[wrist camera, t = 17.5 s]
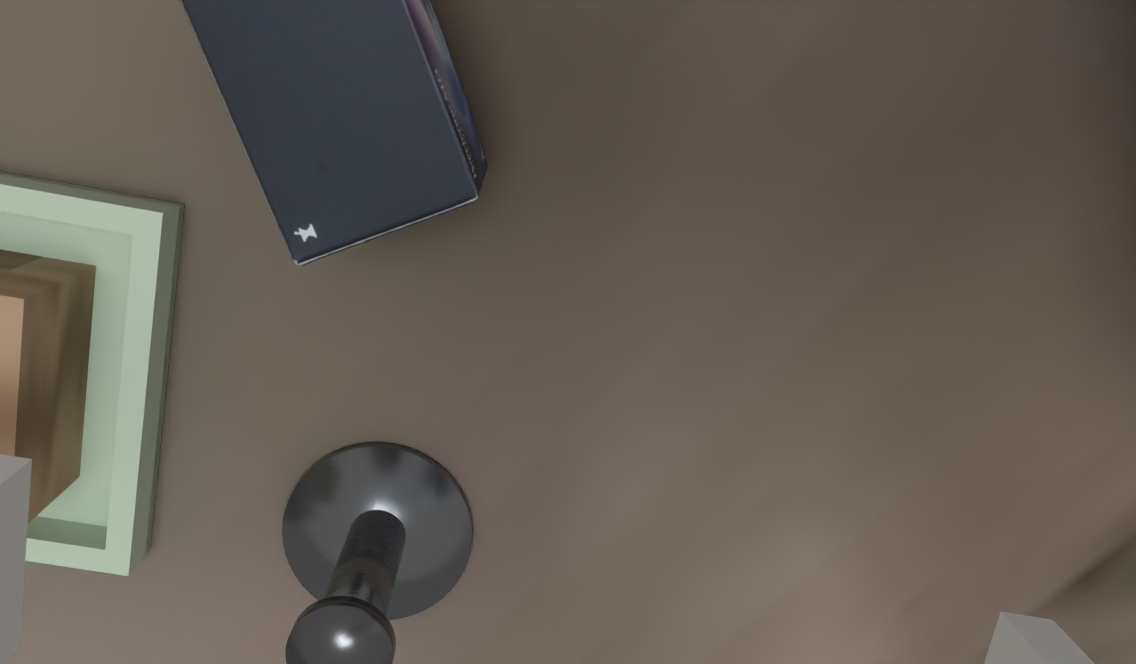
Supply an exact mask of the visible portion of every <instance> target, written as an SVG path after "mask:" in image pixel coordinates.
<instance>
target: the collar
mask: <svg viewBox="0 0 1136 664" xmlns="http://www.w3.org/2000/svg"><path fill="white" fill-rule="evenodd" d="M95 275H96V266H94V265H89V264H83V263H77V262H71V261H65V260H60V259H54V258H48V257H42V256H36V255H31V254H25V253H19V252H13V251H7V250H2V249H0V454H3V455H9V456H16V457H22V458H28V459H32V468H31V483H30V498H29V513H28V523H29V522H31V521H32V520H33V519H34V518H35V517H36V516H37V515H38V514H39V513H40V512H41V511H43V510H44V509H45V508H46V507H47V506H48V505H49V504H50V503H51V502H52V501H53V500H55V499H56V498H57V497H58V496H59V495H60V494H61V493H62V492H63V491H64V490H65V489H67V488H68V487H69V486H70V485H71V484H72V483H73V482H74V481H75V480H76V479H78V478H79V477H80V466H81V453H82V440H83V428H84V415H85V402H86V389H87V377H88V364H89V351H90V339H91V326H92V313H93V301H94V288H95Z"/></svg>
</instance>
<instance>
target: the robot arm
mask: <svg viewBox="0 0 1136 664" xmlns="http://www.w3.org/2000/svg"><path fill="white" fill-rule="evenodd" d="M31 468H32V459H28V458H22V457H16V456H9V455H3V454H0V664H6V663H7V662H8V660H9V659H10V658H11V657H12V656H13V655H14V654H15V652H16V651H17V650H18V649H19V645H20V630H21V616H22V601H23V586H24V571H25V557H26V542H27V527H28V513H29V498H30V483H31ZM984 664H1094V663H1093V662H1092V661H1091V660H1090V659H1089V658H1088V656H1087V655H1086V654H1085V653H1084V652H1083V651H1082V650H1081V649H1080V648H1079V647H1078V646H1077V645H1076V644H1075V643H1074V642H1073V641H1072V640H1071V639H1070V637H1069V636H1068V635H1067V634H1066V633H1065V632H1064V631H1063V630H1062V629H1061V628H1060V627H1059V626H1058V625H1057V624H1056V623H1055V622H1054V621H1053V620H1051V619H1044V618H1038V617H1032V616H1025V615H1019V614H1012V613H1006V612H1000V616H999V619H998V622H997V625H996V628H995V631H994V634H993V637H992V640H991V643H990V647H989V650H988V653H987V656H986V659H985V662H984Z"/></svg>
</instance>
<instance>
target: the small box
mask: <svg viewBox="0 0 1136 664" xmlns="http://www.w3.org/2000/svg"><path fill="white" fill-rule="evenodd" d="M179 1H180V3H181V6H182V8H183V10H184V12H185V14H186V17H187V19H188V21H189V23H190V25H191V28H192V31H193V33H194V36H195V38H196V40H197V42H198V45H199V47H200V49H201V52H202V54H203V56H204V59H205V61H206V63H207V65H208V68H209V70H210V73H211V75H212V78H213V80H214V82H215V85H216V87H217V89H218V92H219V94H220V96H221V98H222V101H223V103H224V105H225V108H226V110H227V112H228V115H229V117H230V119H231V121H232V123H233V126H234V128H235V131H236V133H237V135H238V137H239V139H240V141H241V143H242V146H243V148H244V151H245V153H246V156H247V158H248V161H249V163H250V165H251V168H252V170H253V172H254V174H255V176H256V179H257V181H258V184H259V186H260V189H261V191H262V193H263V196H264V198H265V200H266V202H267V204H268V207H269V209H270V211H271V214H272V216H273V218H274V220H275V224H276V225H277V227H278V229H279V232H280V234H281V236H282V239H283V241H284V243H285V246H286V248H287V250H288V253H289V255H290V257H291V260H292V261H293V263H295V264H297V265H299V266H304V265H306V264H308V263H311V262H313V261H315V260H318V259H320V258H324V257H326V256H328V255H331V254H334V253H337V252H339V251H342V250H345V249H347V248H350V247H353V246H356V245H358V244H361V243H364V242H367V241H370V240H372V239H375V238H377V237H380V236H382V235H385V234H387V233H391V232H393V231H396V230H399V229H402V228H404V227H408V226H411V225H413V224H416V223H419V222H422V221H424V220H427V219H429V218H432V217H434V216H437V215H441V214H444V213H446V212H448V211H451V210H453V209H456V208H460V207H463V206H465V205H467V204H470V203H473V202H475V201H476V200H477V199H478V197H479V191H480V188H481V185H482V181H483V178H484V175H485V173H486V171H487V163H486V159H485V155H484V152H483V149H482V145H481V142H480V138H479V135H478V132H477V128H476V126H475V123H474V120H473V118H472V115H471V112H470V109H469V106H468V103H467V100H466V97H465V94H464V92H463V89H462V86H461V84H460V81H459V78H458V75H457V73H456V70H455V67H454V64H453V61H452V59H451V56H450V53H449V50H448V47H447V44H446V42H445V39H444V36H443V33H442V31H441V28H440V25H439V23H438V20H437V18H436V15H435V12H434V10H433V7H432V4H431V2H430V0H179Z"/></svg>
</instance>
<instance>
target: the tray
mask: <svg viewBox="0 0 1136 664" xmlns="http://www.w3.org/2000/svg"><path fill="white" fill-rule="evenodd" d="M184 205H185V204H180V203H174V202H169V201H163V200H157V199H152V198H146V197H141V196H135V195H130V194H124V193H119V192H113V191H107V190H102V189H96V188H91V187H85V186H80V185H74V184H68V183H63V182H57V181H52V180H46V179H41V178H35V177H29V176H24V175H18V174H13V173H7V172H2V171H0V249H2V250H7V251H13V252H19V253H25V254H31V255H36V256H42V257H48V258H54V259H60V260H65V261H71V262H77V263H83V264H89V265H94V266H96V275H95V288H94V301H93V313H92V326H91V339H90V351H89V364H88V377H87V389H86V402H85V415H84V428H83V440H82V453H81V466H80V477H79V478H78V479H76V480H75V481H74V482H73V483H72V484H71V485H70V486H69V487H68V488H67V489H65V490H64V491H63V492H62V493H61V494H60V495H59V496H58V497H57V498H56V499H55V500H53V501H52V502H51V503H50V504H49V505H48V506H47V507H46V508H45V509H44V510H43V511H41V512H40V513H39V514H38V515H37V516H36V517H35V518H34V519H33V520H32V521H31V522H29V523H28V527H27V542H26V557H25V561H31V562H38V563H45V564H52V565H58V566H65V567H72V568H78V569H85V570H92V571H98V572H105V573H112V574H118V575H125V576H129V575H130V573H131V572H132V571H133V570H134V568H135V567H136V566H137V564H138V563H139V562H140V561H141V559H142V558H143V557H144V556H145V554H146V553H147V552H148V550H149V549H150V546H151V536H152V526H153V516H154V506H155V496H156V486H157V476H158V466H159V456H160V446H161V436H162V426H163V416H164V406H165V396H166V386H167V376H168V366H169V356H170V346H171V336H172V326H173V316H174V305H175V295H176V285H177V275H178V265H179V255H180V245H181V235H182V225H183V215H184Z"/></svg>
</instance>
